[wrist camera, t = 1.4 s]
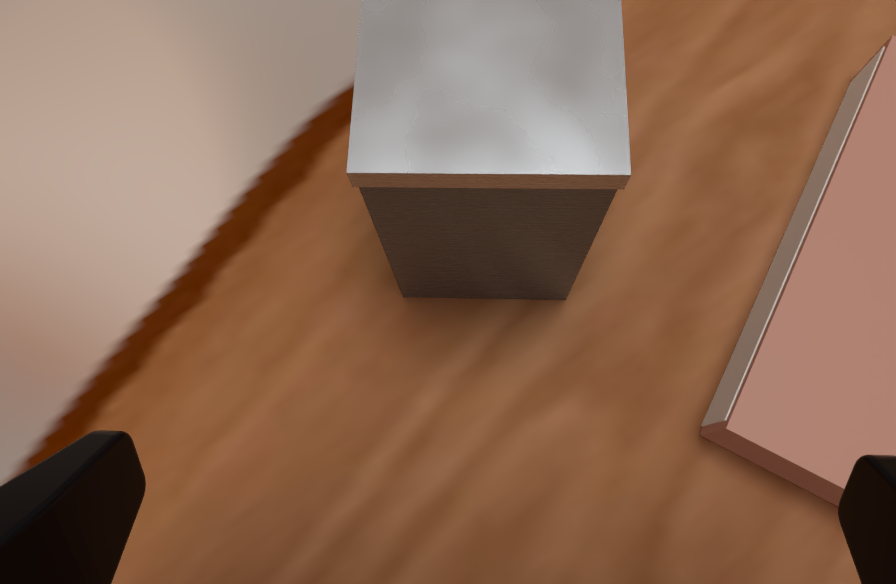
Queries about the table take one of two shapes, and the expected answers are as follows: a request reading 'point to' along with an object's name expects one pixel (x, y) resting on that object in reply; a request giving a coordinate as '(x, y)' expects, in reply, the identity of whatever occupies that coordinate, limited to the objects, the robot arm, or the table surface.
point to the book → (825, 311)
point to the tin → (489, 140)
